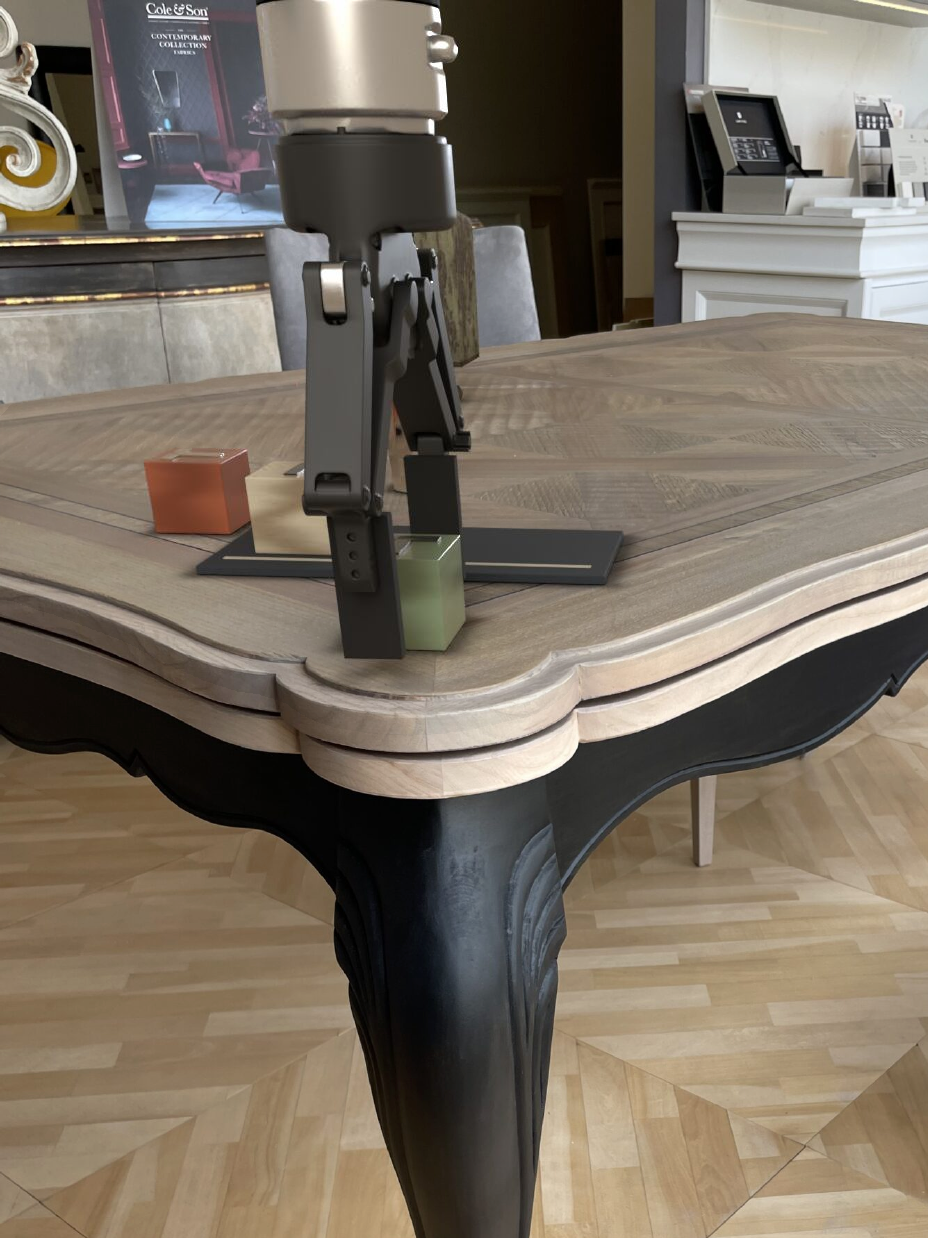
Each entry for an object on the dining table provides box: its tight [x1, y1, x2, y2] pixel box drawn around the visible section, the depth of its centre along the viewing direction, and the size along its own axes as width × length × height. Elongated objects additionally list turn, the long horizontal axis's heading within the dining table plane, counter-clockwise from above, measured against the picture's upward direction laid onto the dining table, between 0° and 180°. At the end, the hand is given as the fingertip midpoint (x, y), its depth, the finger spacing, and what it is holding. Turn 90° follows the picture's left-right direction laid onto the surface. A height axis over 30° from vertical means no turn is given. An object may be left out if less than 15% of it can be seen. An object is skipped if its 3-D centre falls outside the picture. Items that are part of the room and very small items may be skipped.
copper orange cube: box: [143, 447, 251, 535], centre depth 86 cm, size 5×5×5 cm
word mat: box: [195, 524, 624, 586], centre depth 80 cm, size 24×11×1 cm, turn 86°
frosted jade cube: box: [394, 534, 467, 652], centre depth 66 cm, size 5×5×5 cm
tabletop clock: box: [413, 209, 480, 401], centre depth 129 cm, size 14×9×25 cm, turn 9°
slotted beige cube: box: [245, 460, 331, 555], centre depth 80 cm, size 5×5×5 cm
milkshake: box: [388, 400, 418, 494], centre depth 95 cm, size 4×5×10 cm
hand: (411, 614), depth 66 cm, fingers open, 13 cm apart
